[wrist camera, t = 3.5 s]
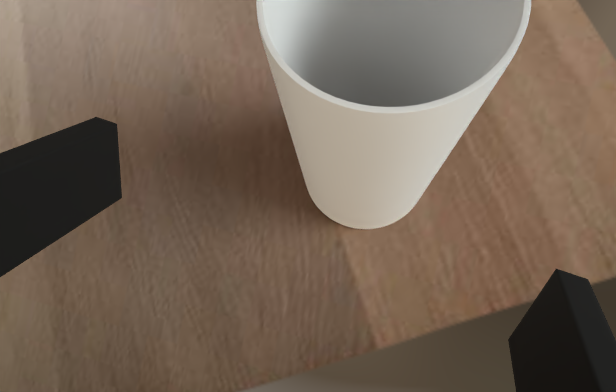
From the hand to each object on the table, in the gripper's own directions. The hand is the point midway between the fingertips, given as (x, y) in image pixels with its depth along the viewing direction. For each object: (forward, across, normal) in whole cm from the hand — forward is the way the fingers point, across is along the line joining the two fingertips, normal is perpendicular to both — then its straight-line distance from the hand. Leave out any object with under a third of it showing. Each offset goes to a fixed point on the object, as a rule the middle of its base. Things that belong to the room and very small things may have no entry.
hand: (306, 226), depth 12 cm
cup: (+16, 0, -5) cm, 16 cm away
